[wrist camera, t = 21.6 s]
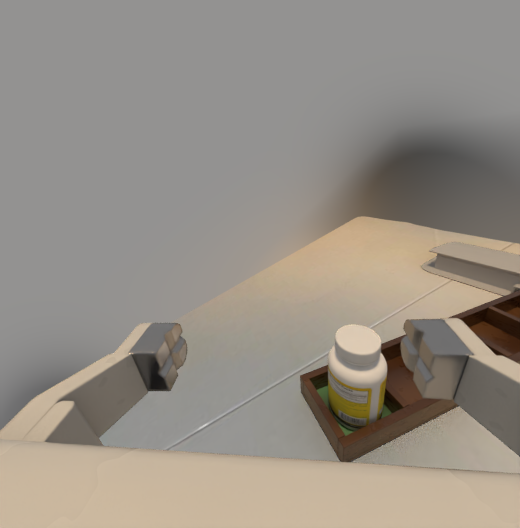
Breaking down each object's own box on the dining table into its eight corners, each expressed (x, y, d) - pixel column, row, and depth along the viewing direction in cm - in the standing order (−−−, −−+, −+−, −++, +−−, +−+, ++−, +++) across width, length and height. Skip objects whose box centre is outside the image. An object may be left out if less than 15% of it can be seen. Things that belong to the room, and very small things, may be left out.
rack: (301, 391, 30) (299, 375, 28) (514, 304, 39) (519, 289, 38) (342, 465, 22) (343, 447, 21) (591, 337, 32) (601, 319, 31)
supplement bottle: (359, 379, 30) (364, 314, 25) (393, 422, 25) (406, 349, 21) (319, 394, 28) (317, 328, 24) (346, 442, 24) (350, 369, 20)
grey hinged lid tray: (582, 321, 34) (595, 297, 33) (415, 267, 53) (418, 251, 51) (610, 283, 41) (622, 262, 39) (452, 247, 59) (456, 232, 58)
